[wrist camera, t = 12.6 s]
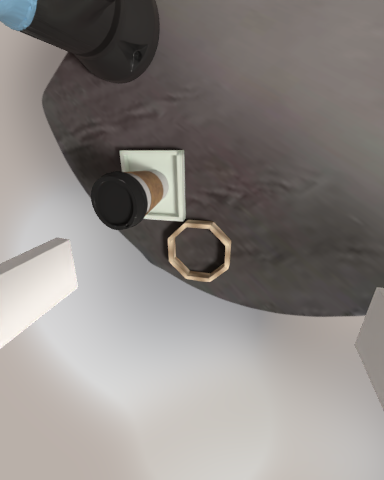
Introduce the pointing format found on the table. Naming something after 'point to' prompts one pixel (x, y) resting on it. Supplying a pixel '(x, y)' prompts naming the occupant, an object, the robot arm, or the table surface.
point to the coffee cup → (127, 196)
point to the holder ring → (193, 274)
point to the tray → (171, 168)
